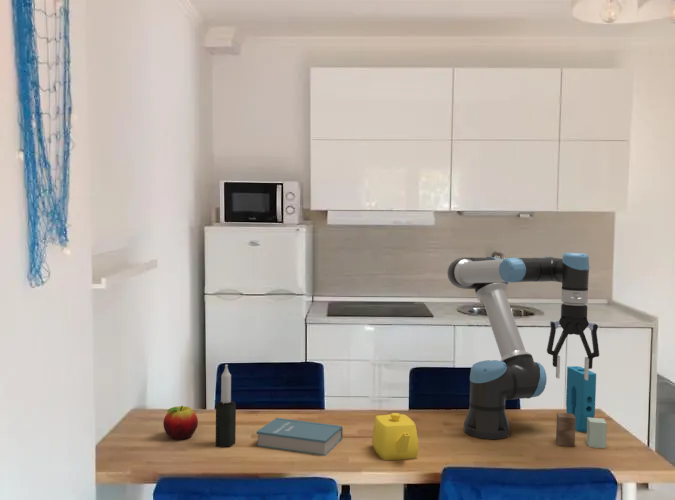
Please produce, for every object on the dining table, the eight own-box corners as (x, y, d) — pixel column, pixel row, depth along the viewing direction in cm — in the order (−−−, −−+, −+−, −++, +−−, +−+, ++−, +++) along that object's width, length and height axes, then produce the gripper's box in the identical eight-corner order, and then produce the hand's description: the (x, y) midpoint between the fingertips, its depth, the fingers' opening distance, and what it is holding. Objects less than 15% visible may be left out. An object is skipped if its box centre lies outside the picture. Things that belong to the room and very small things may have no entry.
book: (256, 447, 201) (256, 431, 201) (277, 431, 216) (278, 416, 216) (325, 457, 194) (325, 440, 193) (342, 440, 209) (342, 425, 209)
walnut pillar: (558, 445, 207) (558, 416, 206) (556, 440, 211) (556, 412, 211) (574, 446, 206) (575, 418, 205) (572, 441, 210) (573, 413, 210)
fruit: (204, 436, 209) (204, 405, 208) (175, 444, 201) (175, 412, 200) (185, 428, 216) (185, 399, 216) (156, 436, 208) (156, 405, 208)
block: (595, 433, 219) (597, 374, 219) (581, 433, 219) (583, 374, 218) (577, 422, 231) (579, 366, 230) (564, 422, 231) (566, 366, 230)
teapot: (426, 464, 188) (427, 424, 188) (385, 466, 186) (386, 426, 185) (404, 441, 208) (405, 404, 207) (367, 443, 205) (368, 406, 205)
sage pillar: (589, 447, 206) (590, 421, 205) (586, 441, 210) (587, 417, 210) (605, 448, 205) (606, 423, 204) (602, 443, 209) (603, 418, 209)
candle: (236, 442, 203) (237, 363, 202) (228, 448, 199) (229, 366, 198) (222, 440, 205) (223, 362, 204) (214, 445, 200) (214, 365, 199)
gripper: (540, 303, 196) (538, 378, 197) (612, 306, 192) (609, 383, 193) (538, 300, 203) (535, 373, 204) (607, 303, 199) (604, 377, 200)
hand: (571, 378), depth 199 cm, fingers open, 8 cm apart
